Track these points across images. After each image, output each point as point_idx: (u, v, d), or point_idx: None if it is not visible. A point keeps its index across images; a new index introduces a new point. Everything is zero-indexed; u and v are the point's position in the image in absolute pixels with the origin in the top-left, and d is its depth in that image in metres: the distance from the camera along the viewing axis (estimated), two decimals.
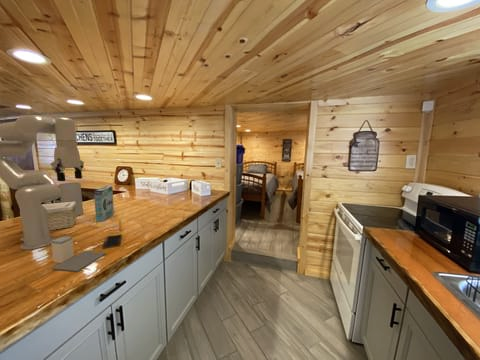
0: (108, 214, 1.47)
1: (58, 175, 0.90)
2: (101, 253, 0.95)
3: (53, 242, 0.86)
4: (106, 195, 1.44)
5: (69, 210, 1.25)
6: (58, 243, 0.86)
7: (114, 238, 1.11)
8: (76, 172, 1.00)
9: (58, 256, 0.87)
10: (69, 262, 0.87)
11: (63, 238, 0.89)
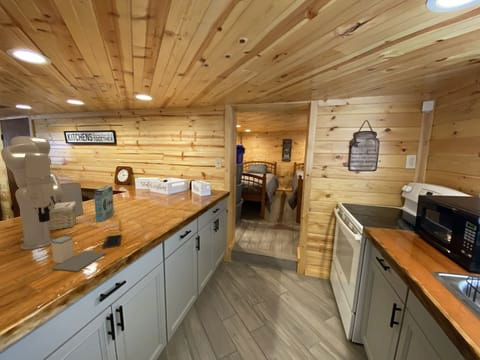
0: (108, 214, 1.47)
1: (46, 215, 0.87)
2: (101, 253, 0.95)
3: (53, 242, 0.86)
4: (106, 195, 1.44)
5: (69, 210, 1.25)
6: (58, 243, 0.86)
7: (114, 238, 1.11)
8: None
9: (58, 256, 0.87)
10: (69, 262, 0.87)
11: (63, 238, 0.89)
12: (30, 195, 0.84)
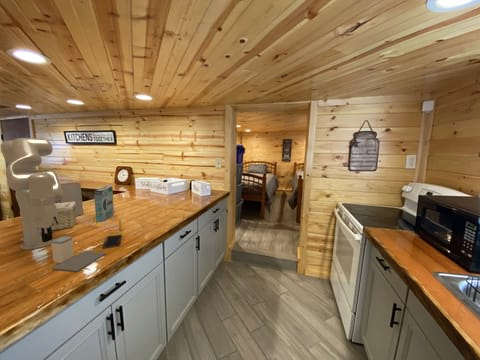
0: (108, 214, 1.47)
1: (49, 235, 0.89)
2: (101, 253, 0.95)
3: (53, 242, 0.86)
4: (106, 195, 1.44)
5: (69, 210, 1.25)
6: (58, 243, 0.86)
7: (114, 238, 1.11)
8: None
9: (58, 256, 0.87)
10: (69, 262, 0.87)
11: (63, 238, 0.89)
12: (33, 216, 0.85)
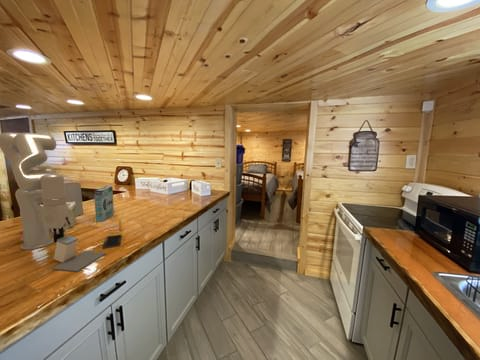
0: (108, 214, 1.47)
1: (61, 236, 0.88)
2: (101, 253, 0.95)
3: (59, 241, 0.86)
4: (106, 195, 1.44)
5: (69, 210, 1.25)
6: (63, 243, 0.86)
7: (114, 238, 1.11)
8: None
9: (60, 255, 0.87)
10: (69, 262, 0.87)
11: (69, 238, 0.89)
12: (45, 216, 0.85)
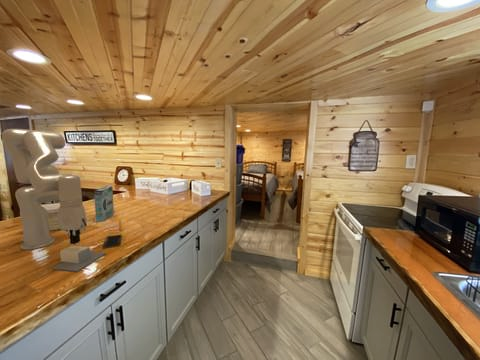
0: (108, 214, 1.47)
1: (77, 237, 0.87)
2: (101, 253, 0.95)
3: (79, 255, 0.85)
4: (106, 195, 1.44)
5: None
6: (78, 260, 0.86)
7: (114, 238, 1.11)
8: None
9: (66, 257, 0.86)
10: (69, 262, 0.87)
11: (86, 254, 0.89)
12: (62, 218, 0.84)
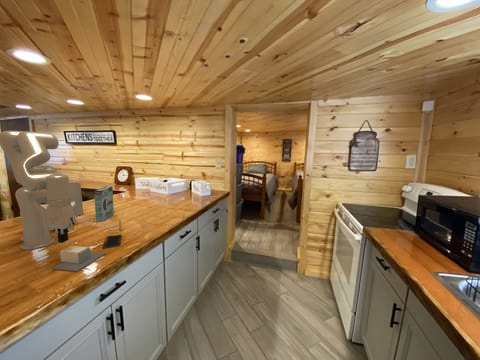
0: (108, 214, 1.47)
1: (65, 236, 0.88)
2: (101, 253, 0.95)
3: (79, 255, 0.85)
4: (106, 195, 1.44)
5: None
6: (78, 260, 0.86)
7: (114, 238, 1.11)
8: None
9: (66, 257, 0.86)
10: (69, 262, 0.87)
11: (86, 254, 0.89)
12: (50, 216, 0.85)
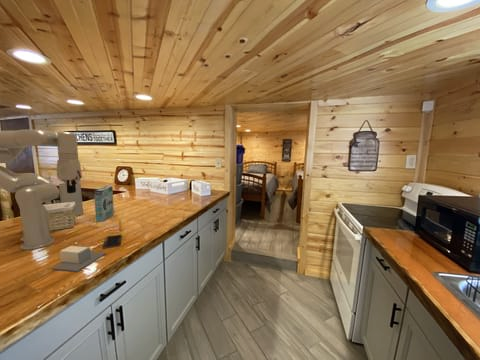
0: (108, 214, 1.47)
1: (73, 187, 0.99)
2: (101, 253, 0.95)
3: (79, 255, 0.85)
4: (106, 195, 1.44)
5: (70, 210, 1.25)
6: (78, 260, 0.86)
7: (114, 238, 1.11)
8: None
9: (66, 257, 0.86)
10: (69, 262, 0.87)
11: (86, 254, 0.89)
12: (60, 169, 0.96)
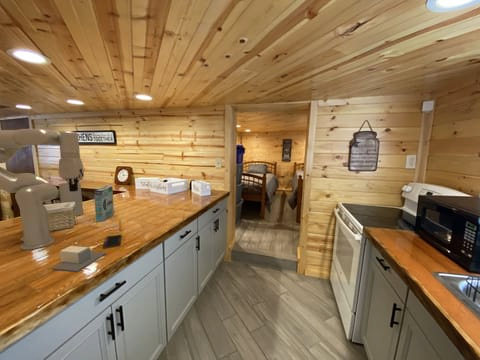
0: (108, 214, 1.47)
1: (75, 186, 1.01)
2: (101, 253, 0.95)
3: (79, 255, 0.85)
4: (106, 195, 1.44)
5: (70, 210, 1.25)
6: (78, 260, 0.86)
7: (114, 238, 1.11)
8: None
9: (66, 257, 0.86)
10: (69, 262, 0.87)
11: (86, 254, 0.89)
12: (62, 167, 0.98)
